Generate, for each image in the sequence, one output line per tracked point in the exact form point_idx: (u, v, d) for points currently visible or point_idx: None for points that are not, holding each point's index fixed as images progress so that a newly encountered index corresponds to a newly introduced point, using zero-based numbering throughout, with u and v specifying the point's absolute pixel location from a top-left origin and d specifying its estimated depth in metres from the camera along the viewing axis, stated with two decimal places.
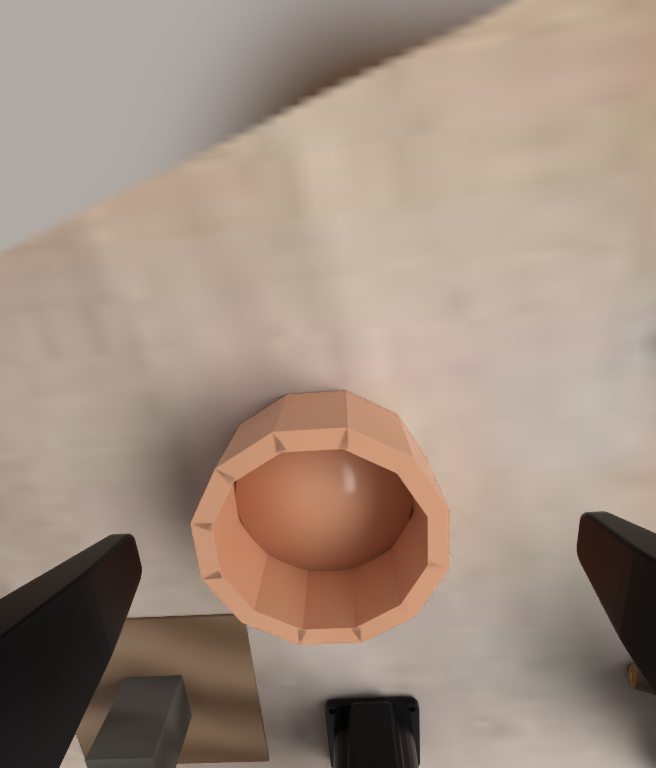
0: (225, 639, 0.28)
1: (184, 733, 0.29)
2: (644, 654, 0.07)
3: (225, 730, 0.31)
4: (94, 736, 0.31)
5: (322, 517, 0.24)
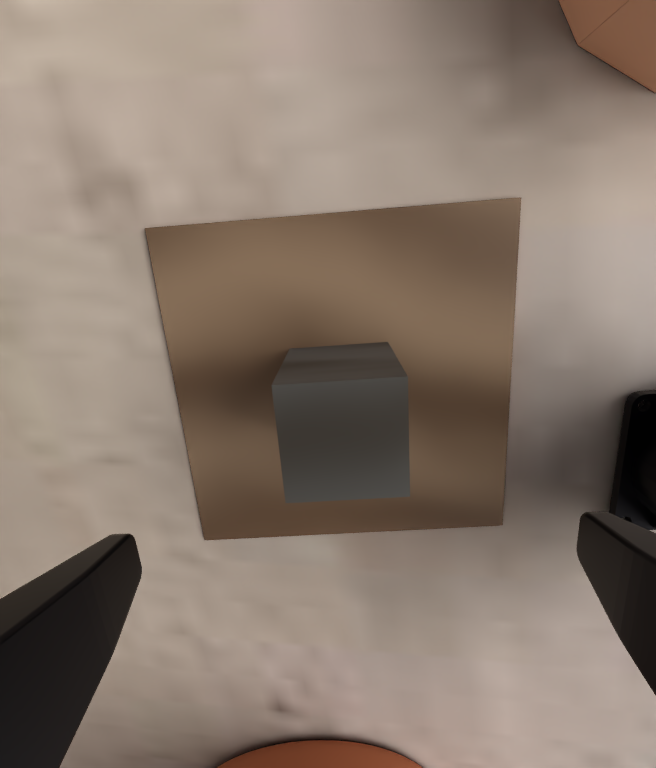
0: (478, 256, 0.16)
1: None
2: (644, 654, 0.07)
3: (442, 462, 0.18)
4: (221, 479, 0.19)
5: None
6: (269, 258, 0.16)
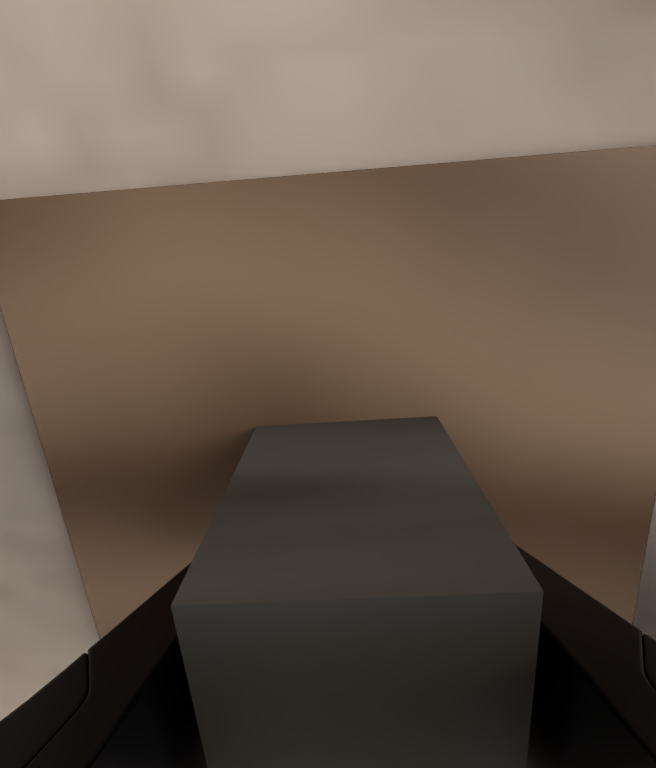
0: (619, 260, 0.08)
1: None
2: None
3: None
4: None
5: None
6: (213, 261, 0.08)
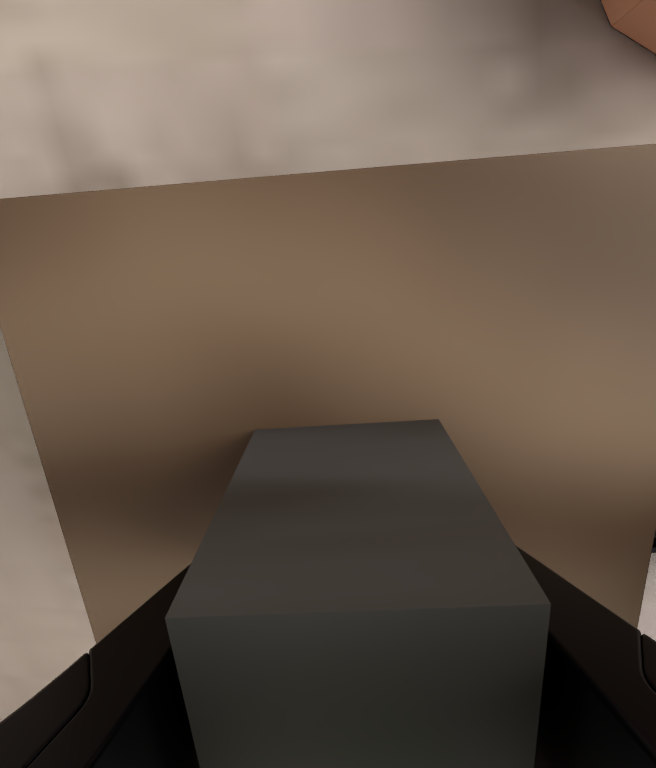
0: (625, 260, 0.08)
1: None
2: None
3: None
4: None
5: None
6: (211, 261, 0.08)
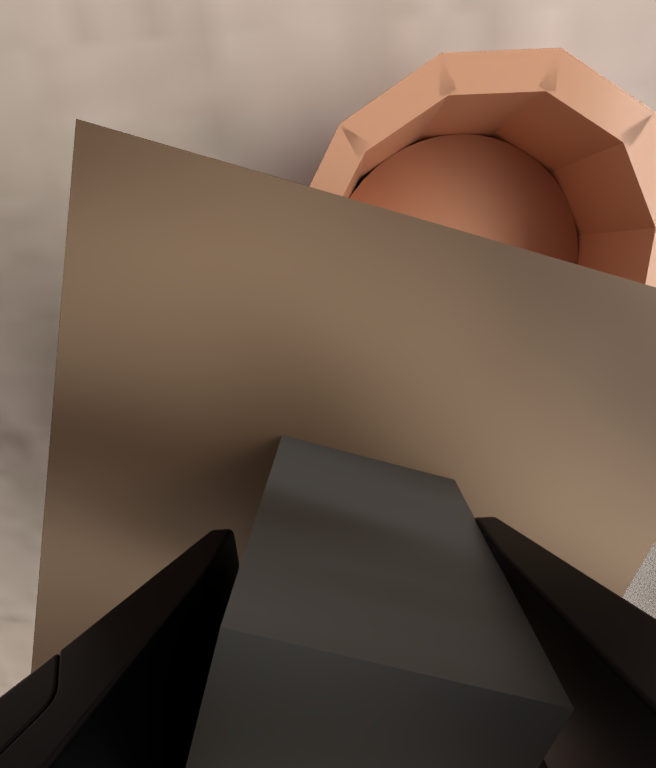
0: None
1: None
2: None
3: None
4: (89, 600, 0.11)
5: None
6: (302, 267, 0.08)
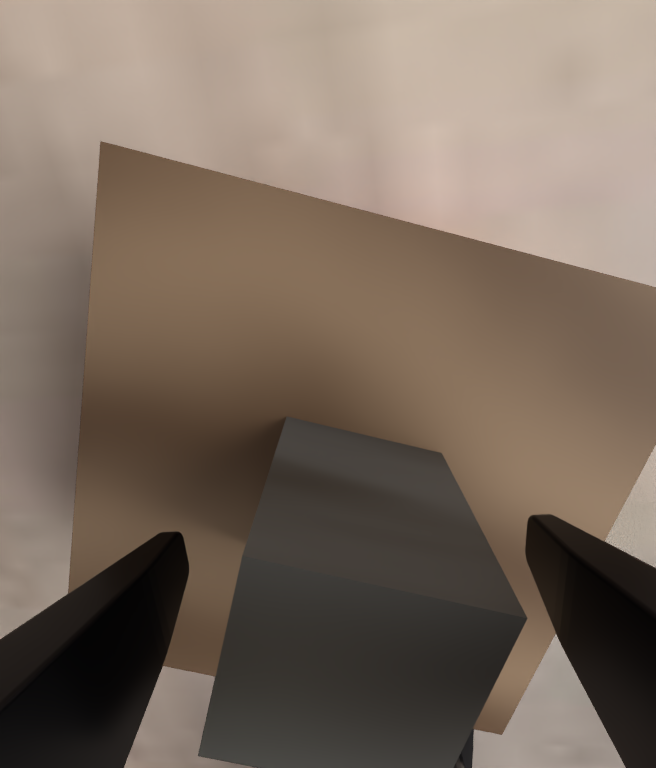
0: (626, 373, 0.10)
1: None
2: (579, 656, 0.07)
3: None
4: None
5: None
6: (301, 266, 0.09)
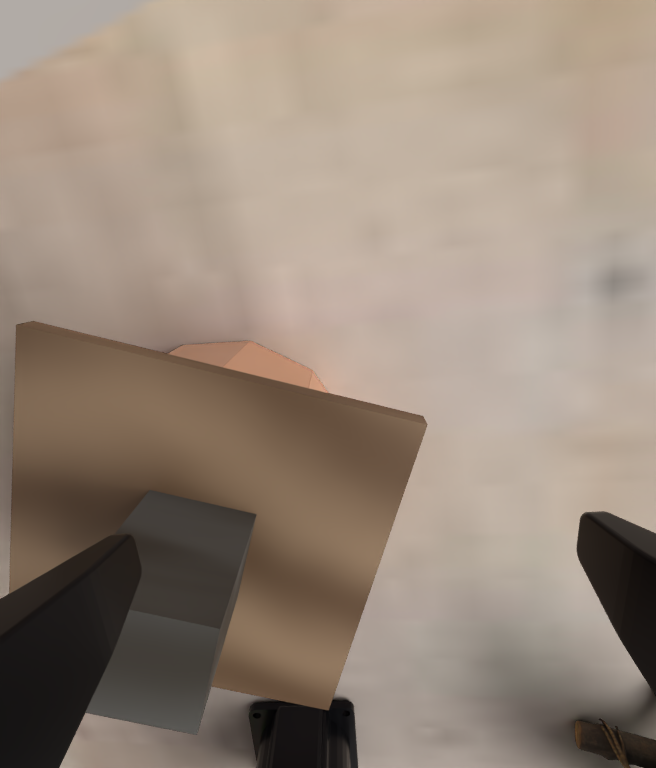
0: (370, 464, 0.15)
1: (230, 619, 0.15)
2: (644, 654, 0.07)
3: (283, 639, 0.17)
4: None
5: None
6: (149, 398, 0.14)
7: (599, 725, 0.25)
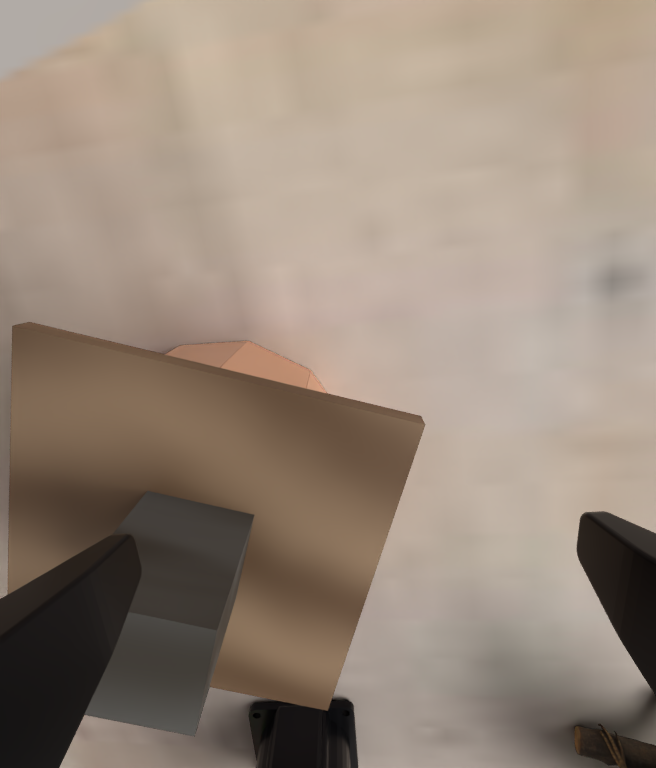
0: (367, 464, 0.15)
1: (228, 620, 0.15)
2: (644, 654, 0.07)
3: (281, 639, 0.17)
4: None
5: None
6: (147, 398, 0.14)
7: (598, 730, 0.25)
